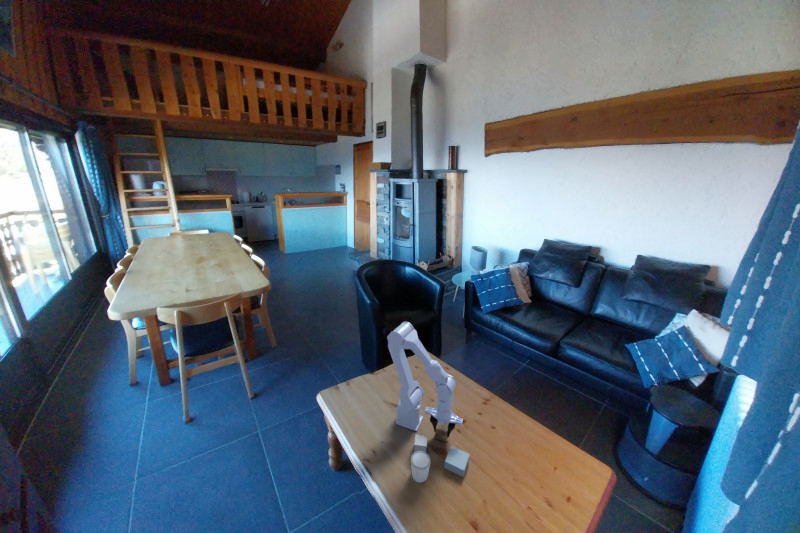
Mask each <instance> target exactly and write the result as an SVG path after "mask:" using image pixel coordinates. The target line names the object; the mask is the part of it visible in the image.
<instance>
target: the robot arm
mask: <svg viewBox="0 0 800 533" xmlns="http://www.w3.org/2000/svg"><path fill="white" fill-rule="evenodd" d="M386 339H387V348H388V350H389V354H390V356H391V359H392V362H393V365H394V368H395V371H396V374H397V377H398V380H399V383H400V391H399V394H398V395H399V401H398V403H397V406H396V421H395V424H396V425H397V426H398V425H399V426H401V427H404V428H405V429H409V430H412V431H415V432H417V431H418V430H419V427H420V425H421V423H422V421H423V419H424V416H423V415H421V399H422V398H423V397H424V395H425V394H424V389H423V387H421V386H420V383H419V381H415V380H414V377H413V374H412V371H411V367H410V364H409V361H408V359H407V356H406V353H405V352H406V351H405V350H411V351H412V352H413V354H415V356H416V357H417V358H418V359H419V360H420V361H421V362H422V364H423V365H424V372H425V373H426V374H427V375H428V377H429V378H430V379H431V381H432V382H433V384H434V385H435V386H436V387H435V392H436V393H437V402H436V407H428V406H426V407H425V409H424V414H425V415H427V416H428V415H429V417H430V418H429V423H431V425H432V427H433V431H434V433H435V430H436V426H437V423H438V421H439V423H441V424H444V423H449V424H448V433H447V438H449V437H450V435H451V433H452V432H453V430H455V428H456V424H457V425H458V426H459V427H462V426H463V421H464V419H463V418H461V417H459V416H457V414H455V413H453V412H452V411H453V402H454V392H455V391H454V390H455V388H456V387H457V380H456V378H455V377H454V376H453V375H451V374H449V373H448V372H446V371H445V369H444V368H443V366H442V365H441V364H440V362H438V361H437V360H435V359H432V357H431V356H430V354H429V352H428V351H427V349H426V348H425V346H424V345H423V343H422V342H421V340H420V339H419V336H418V332H417V330H416V329H415V328H414V326H413V324H411V322H409V321H403V322H401V323H400V325H398V326H397V327H396V328H394V329H393V331H391V332H390V333H389V334H388V335H387V337H386Z"/></svg>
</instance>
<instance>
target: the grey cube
mask: <svg viewBox="0 0 800 533" xmlns="http://www.w3.org/2000/svg"><path fill="white" fill-rule="evenodd" d="M414 436H415V437H414V443H413V453H415V452H417V451H423V452H425V453H427V447H428V435H424V434H415V435H414Z"/></svg>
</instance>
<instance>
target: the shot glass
mask: <svg viewBox="0 0 800 533" xmlns="http://www.w3.org/2000/svg"><path fill="white" fill-rule="evenodd" d="M430 466H431V457H430V455H429V454H428V453H427V452H426V453H425V452H423V451H417V452H415V453H414V452H413V453H412V454H411V457H410V467H411V477H412V479H413V480H414V481H415V482H416V483H423V482H426V480H428V477H429V473H430V472H429V471H430Z"/></svg>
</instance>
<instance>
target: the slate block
mask: <svg viewBox="0 0 800 533" xmlns="http://www.w3.org/2000/svg"><path fill="white" fill-rule="evenodd" d="M470 456H471V454H470V453H468V452H466V451H464V450H462V449H459V448H457V447H455V446H453V445H451V446H450V448H449V451H448V453H447V456H446V458H445V460H444V464H443V465H444V467H443V468H444V469H446V470H448V471H449V472H450V471H451V473H454V474H456V475H459V476H460V477H462V478H464V476H465V473H466V471H467V468H468V464H469V462H470Z"/></svg>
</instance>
